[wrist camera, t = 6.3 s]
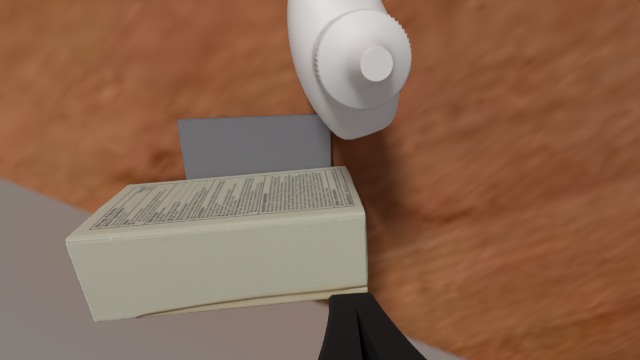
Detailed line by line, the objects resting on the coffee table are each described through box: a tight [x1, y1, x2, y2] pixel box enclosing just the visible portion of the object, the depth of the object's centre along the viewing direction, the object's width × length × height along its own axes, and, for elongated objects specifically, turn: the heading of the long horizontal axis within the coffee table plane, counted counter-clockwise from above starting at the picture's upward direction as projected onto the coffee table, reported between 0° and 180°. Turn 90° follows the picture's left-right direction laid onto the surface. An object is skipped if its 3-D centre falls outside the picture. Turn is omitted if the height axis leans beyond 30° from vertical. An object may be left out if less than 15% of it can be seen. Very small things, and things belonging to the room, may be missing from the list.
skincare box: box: [66, 166, 368, 322], centre depth 18 cm, size 6×4×12 cm
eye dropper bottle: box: [287, 0, 412, 139], centre depth 13 cm, size 4×6×12 cm
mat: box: [177, 114, 331, 180], centre depth 21 cm, size 6×8×1 cm
